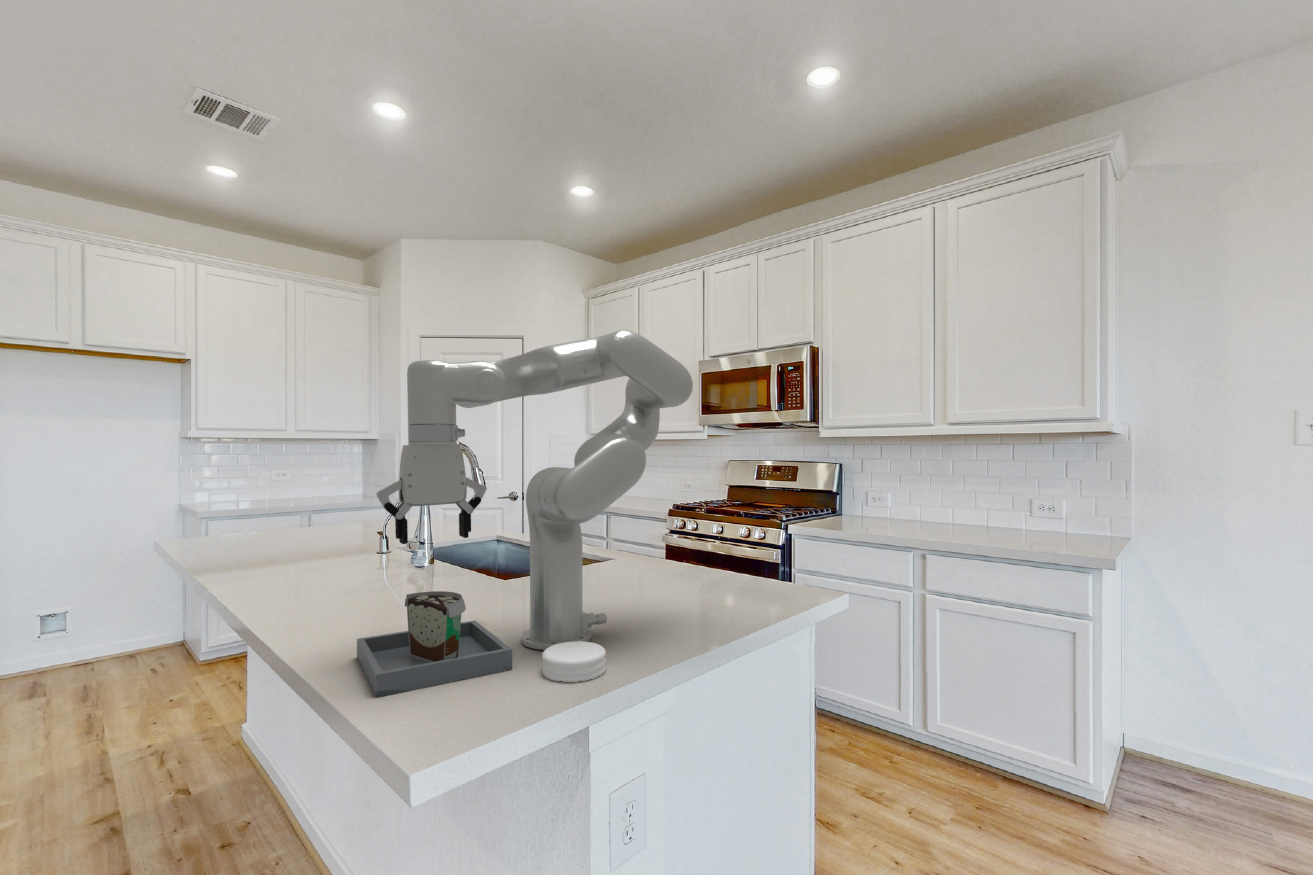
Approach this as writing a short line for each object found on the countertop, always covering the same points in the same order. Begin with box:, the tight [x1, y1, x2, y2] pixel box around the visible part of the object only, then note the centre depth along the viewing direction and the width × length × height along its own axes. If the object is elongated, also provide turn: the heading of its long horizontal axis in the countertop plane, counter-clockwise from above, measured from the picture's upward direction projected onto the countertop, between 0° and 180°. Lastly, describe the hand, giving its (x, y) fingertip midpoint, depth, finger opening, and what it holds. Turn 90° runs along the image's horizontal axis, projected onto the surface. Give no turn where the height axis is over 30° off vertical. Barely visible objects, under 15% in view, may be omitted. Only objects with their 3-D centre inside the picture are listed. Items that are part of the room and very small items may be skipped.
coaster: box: [541, 641, 607, 683], centre depth 99 cm, size 10×10×4 cm
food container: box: [404, 590, 467, 662], centre depth 104 cm, size 12×6×10 cm, turn 54°
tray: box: [356, 620, 513, 698], centre depth 103 cm, size 20×20×3 cm
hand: (434, 539), depth 103 cm, fingers open, 9 cm apart
